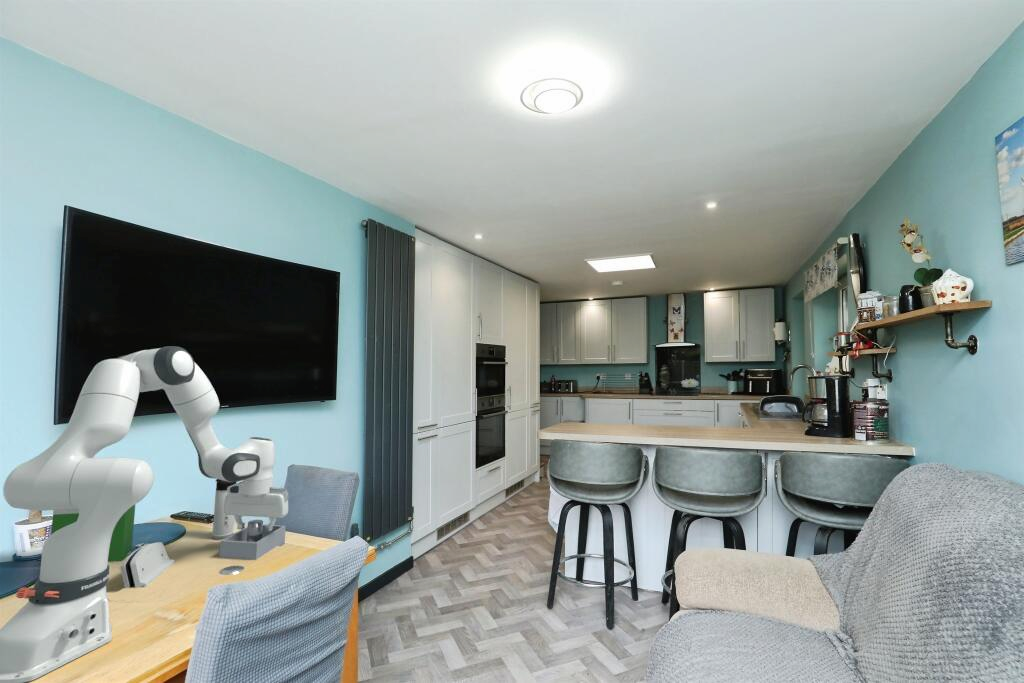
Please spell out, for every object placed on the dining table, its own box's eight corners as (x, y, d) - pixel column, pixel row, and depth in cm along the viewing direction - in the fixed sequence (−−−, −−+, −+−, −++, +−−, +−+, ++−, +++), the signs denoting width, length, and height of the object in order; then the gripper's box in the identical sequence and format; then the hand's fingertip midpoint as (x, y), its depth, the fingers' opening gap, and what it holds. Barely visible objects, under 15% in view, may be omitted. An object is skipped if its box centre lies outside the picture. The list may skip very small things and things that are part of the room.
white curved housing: (146, 590, 127) (135, 555, 127) (127, 598, 126) (115, 562, 126) (176, 565, 143) (166, 533, 143) (159, 571, 142) (149, 539, 142)
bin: (255, 563, 147) (257, 543, 147) (218, 560, 148) (220, 541, 148) (284, 543, 164) (285, 525, 164) (251, 541, 164) (252, 523, 165)
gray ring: (235, 579, 136) (235, 575, 136) (213, 577, 136) (213, 574, 136) (248, 569, 142) (249, 566, 142) (228, 568, 142) (228, 565, 142)
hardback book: (47, 566, 139) (56, 483, 141) (61, 557, 146) (69, 477, 148) (121, 560, 145) (128, 480, 147) (131, 551, 152) (137, 475, 154)
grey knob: (265, 547, 158) (267, 519, 159) (256, 553, 153) (258, 524, 153) (250, 546, 158) (252, 518, 159) (240, 552, 153) (242, 523, 154)
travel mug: (216, 533, 171) (220, 477, 172) (236, 533, 172) (240, 477, 173) (207, 539, 165) (212, 481, 166) (227, 539, 165) (232, 481, 167)
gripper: (293, 486, 159) (290, 528, 159) (234, 483, 161) (231, 524, 160) (283, 490, 153) (280, 534, 152) (222, 487, 154) (218, 531, 153)
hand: (254, 529), depth 156 cm, fingers open, 8 cm apart
